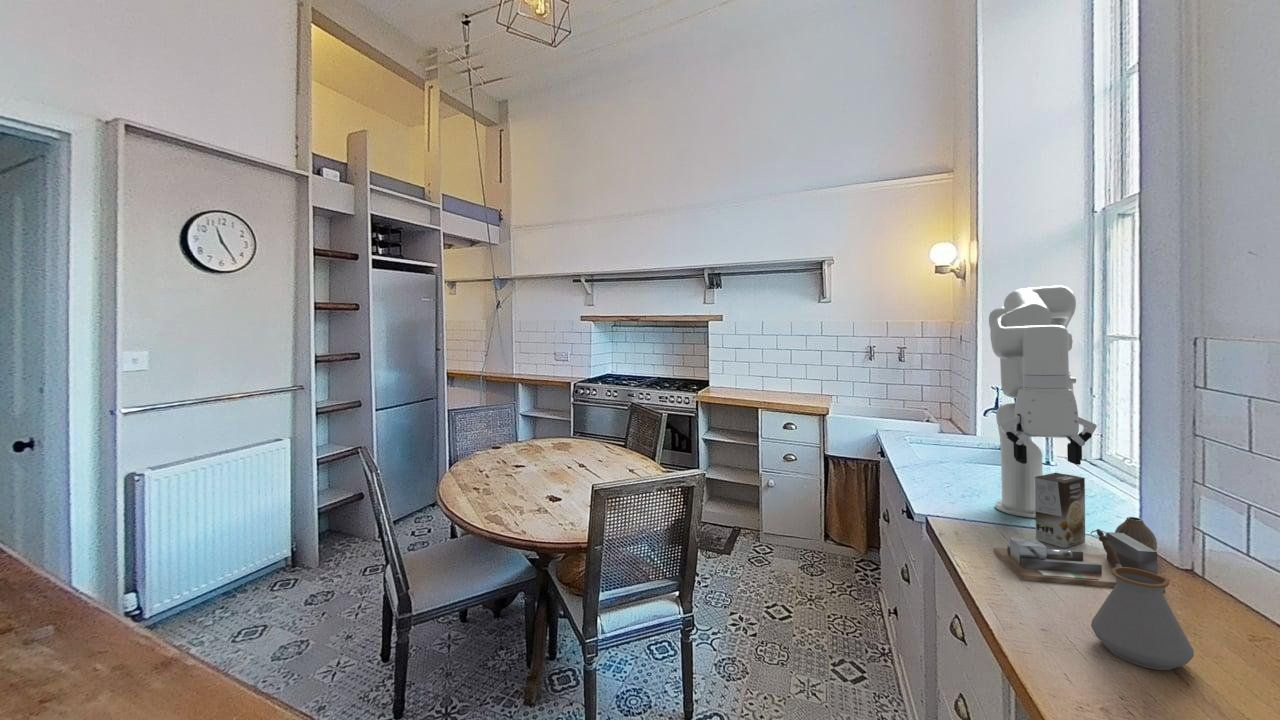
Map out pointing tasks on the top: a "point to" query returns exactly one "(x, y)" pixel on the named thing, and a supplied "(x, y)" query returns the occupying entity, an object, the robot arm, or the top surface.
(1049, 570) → the bench
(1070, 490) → the coffee box
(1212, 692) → the top surface
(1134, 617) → the coffee pot
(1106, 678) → the top surface
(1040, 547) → the grey block with rod
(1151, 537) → the vase
